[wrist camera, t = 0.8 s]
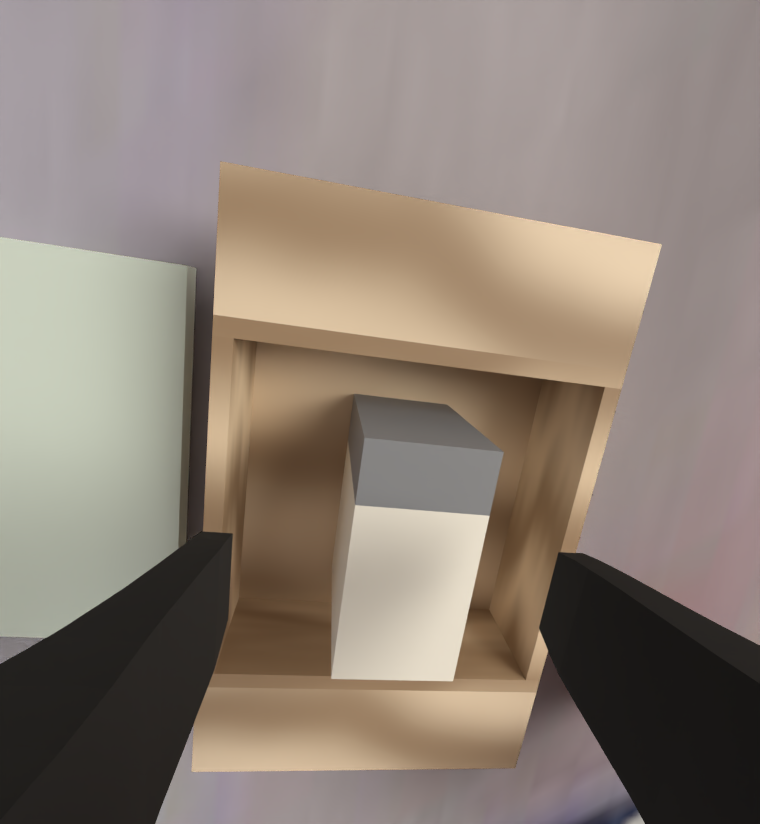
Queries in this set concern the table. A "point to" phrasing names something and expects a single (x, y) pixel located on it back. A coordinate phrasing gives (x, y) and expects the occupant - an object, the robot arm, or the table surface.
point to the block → (408, 539)
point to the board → (89, 427)
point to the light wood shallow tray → (328, 436)
